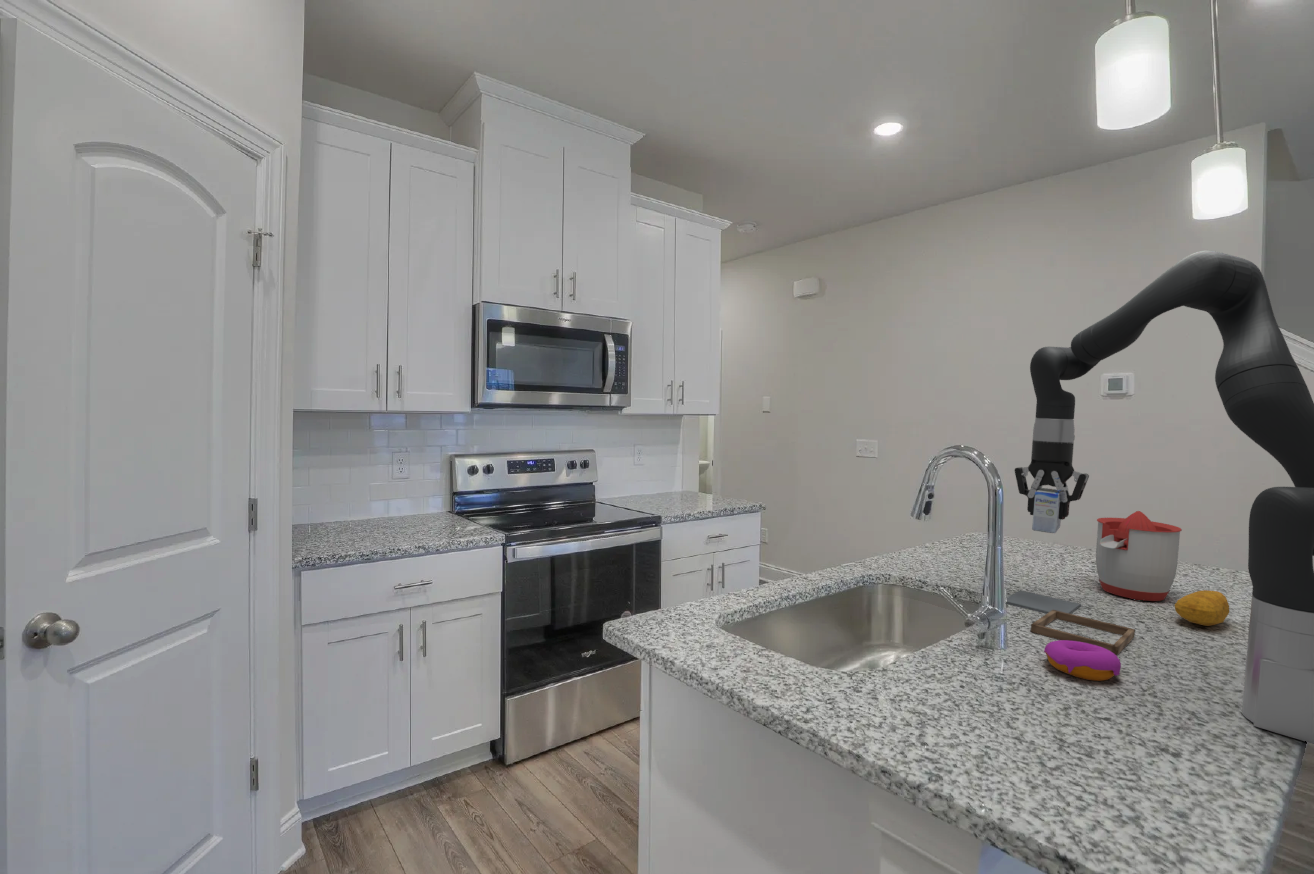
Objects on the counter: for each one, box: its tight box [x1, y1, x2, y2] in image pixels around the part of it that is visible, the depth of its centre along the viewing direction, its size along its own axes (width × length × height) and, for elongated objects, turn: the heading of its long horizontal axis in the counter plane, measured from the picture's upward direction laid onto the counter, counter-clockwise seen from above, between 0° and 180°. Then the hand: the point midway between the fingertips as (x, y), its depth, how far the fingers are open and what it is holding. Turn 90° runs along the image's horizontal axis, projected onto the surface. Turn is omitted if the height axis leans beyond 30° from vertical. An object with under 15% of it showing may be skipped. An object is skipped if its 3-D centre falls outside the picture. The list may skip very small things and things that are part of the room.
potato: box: [1173, 589, 1230, 627], centre depth 124 cm, size 8×14×7 cm, turn 123°
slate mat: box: [1006, 589, 1082, 615], centre depth 133 cm, size 12×12×1 cm
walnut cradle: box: [1030, 610, 1136, 656], centre depth 116 cm, size 14×14×2 cm
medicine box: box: [1031, 487, 1062, 534], centre depth 132 cm, size 8×4×9 cm, turn 140°
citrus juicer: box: [1095, 510, 1183, 602], centre depth 142 cm, size 16×17×20 cm
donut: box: [1043, 639, 1122, 682], centre depth 99 cm, size 10×10×4 cm
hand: (1047, 516), depth 132 cm, fingers closed on medicine box, 5 cm apart
